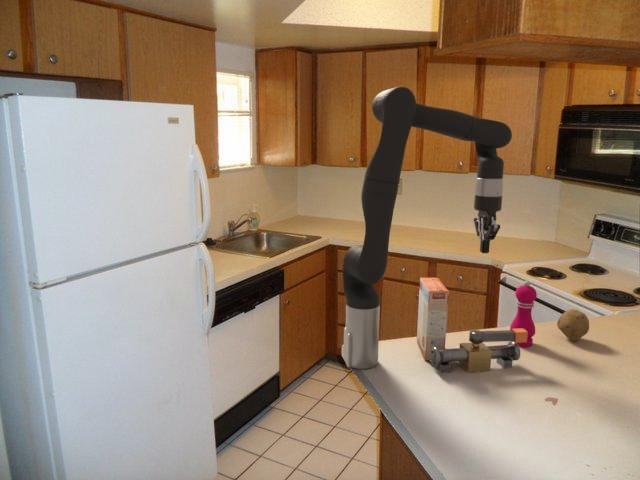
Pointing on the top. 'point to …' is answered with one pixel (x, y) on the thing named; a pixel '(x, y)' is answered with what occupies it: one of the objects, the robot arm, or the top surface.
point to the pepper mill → (525, 312)
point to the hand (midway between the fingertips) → (484, 252)
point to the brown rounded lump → (573, 324)
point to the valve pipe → (475, 356)
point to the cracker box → (432, 315)
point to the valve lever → (498, 336)
